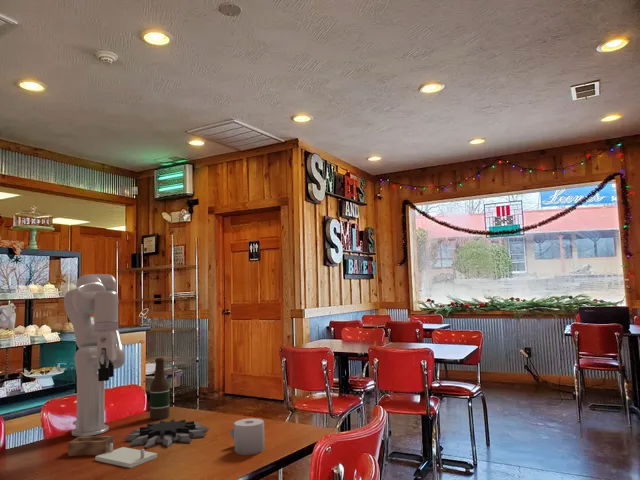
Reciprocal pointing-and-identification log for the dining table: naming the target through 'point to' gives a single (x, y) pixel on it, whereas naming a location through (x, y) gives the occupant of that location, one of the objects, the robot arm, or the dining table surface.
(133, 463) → the panel
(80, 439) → the frame
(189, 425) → the decorative piece
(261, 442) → the toilet tissue
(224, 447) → the dining table surface
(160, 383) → the beer bottle
